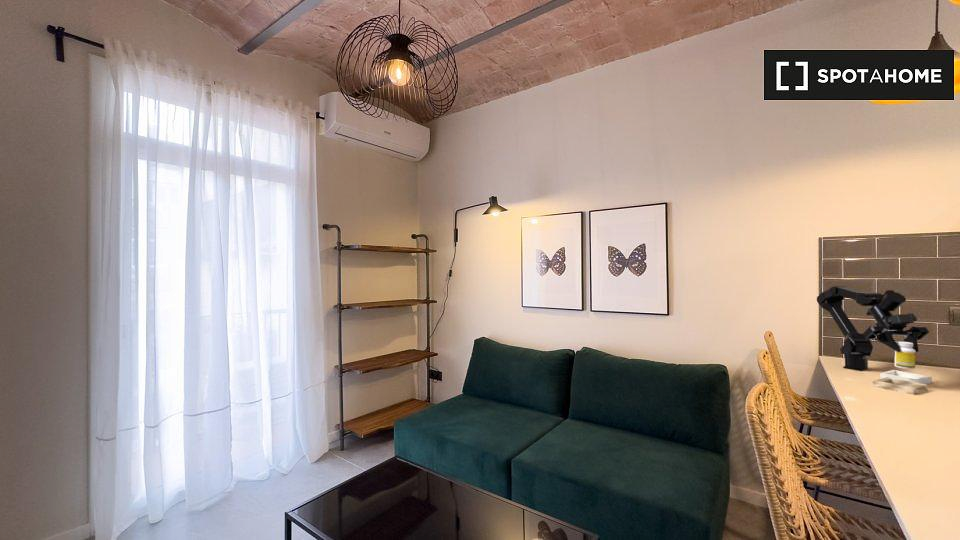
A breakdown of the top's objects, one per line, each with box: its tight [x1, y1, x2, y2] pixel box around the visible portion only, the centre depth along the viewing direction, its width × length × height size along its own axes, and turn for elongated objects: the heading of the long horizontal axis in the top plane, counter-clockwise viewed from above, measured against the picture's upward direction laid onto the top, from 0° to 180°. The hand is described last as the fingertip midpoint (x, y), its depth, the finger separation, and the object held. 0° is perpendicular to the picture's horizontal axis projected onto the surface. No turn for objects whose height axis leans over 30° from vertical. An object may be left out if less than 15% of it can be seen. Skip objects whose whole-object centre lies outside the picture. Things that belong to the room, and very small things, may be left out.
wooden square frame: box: [872, 377, 928, 395], centre depth 147 cm, size 11×11×2 cm
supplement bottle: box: [894, 341, 917, 370], centre depth 150 cm, size 5×5×10 cm
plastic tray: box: [879, 369, 933, 386], centre depth 155 cm, size 11×11×2 cm
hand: (908, 351), depth 148 cm, fingers closed on supplement bottle, 5 cm apart
